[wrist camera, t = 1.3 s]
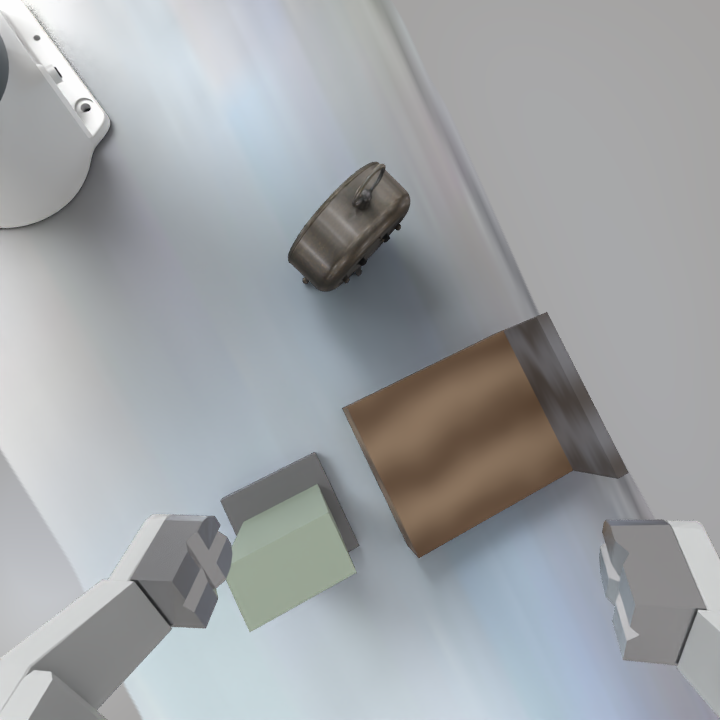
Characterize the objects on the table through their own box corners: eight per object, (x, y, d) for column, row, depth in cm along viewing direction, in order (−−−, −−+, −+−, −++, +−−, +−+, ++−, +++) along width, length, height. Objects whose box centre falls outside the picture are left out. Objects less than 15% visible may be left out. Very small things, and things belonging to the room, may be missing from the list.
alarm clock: (361, 202, 47) (397, 93, 31) (401, 240, 47) (456, 149, 31) (284, 278, 45) (280, 201, 29) (326, 317, 45) (344, 262, 29)
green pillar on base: (222, 497, 42) (187, 538, 28) (314, 451, 44) (325, 468, 29) (265, 591, 42) (252, 681, 27) (357, 541, 43) (388, 601, 29)
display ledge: (342, 408, 44) (356, 405, 35) (494, 334, 48) (547, 312, 38) (407, 545, 44) (441, 582, 34) (557, 461, 47) (628, 472, 37)
